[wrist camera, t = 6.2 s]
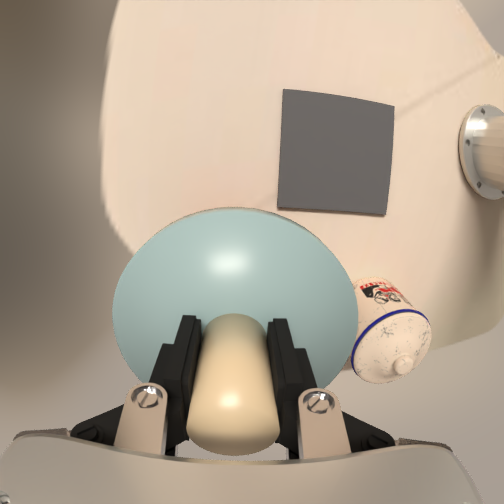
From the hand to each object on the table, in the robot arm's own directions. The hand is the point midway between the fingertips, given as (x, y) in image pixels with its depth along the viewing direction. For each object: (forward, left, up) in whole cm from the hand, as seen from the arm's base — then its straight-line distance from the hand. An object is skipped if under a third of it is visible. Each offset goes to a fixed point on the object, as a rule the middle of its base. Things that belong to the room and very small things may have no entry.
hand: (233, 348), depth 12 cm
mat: (-9, -8, -20) cm, 24 cm away
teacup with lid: (-14, +9, -20) cm, 26 cm away
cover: (0, 0, -2) cm, 2 cm away
